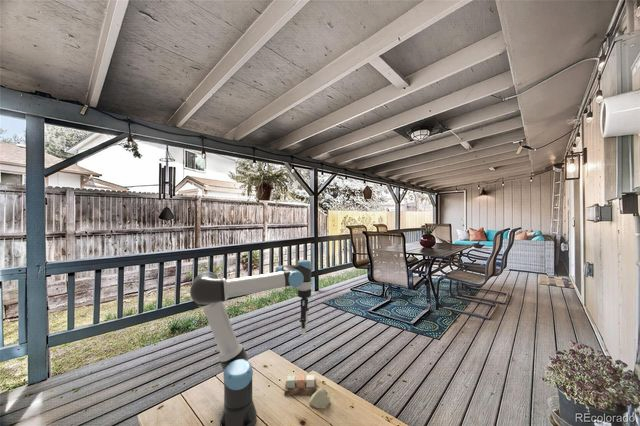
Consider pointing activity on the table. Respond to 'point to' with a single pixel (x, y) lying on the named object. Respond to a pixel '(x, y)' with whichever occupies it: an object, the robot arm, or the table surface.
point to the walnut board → (299, 389)
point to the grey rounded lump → (320, 398)
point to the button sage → (291, 381)
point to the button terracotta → (300, 381)
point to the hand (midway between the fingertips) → (304, 328)
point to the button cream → (310, 380)
